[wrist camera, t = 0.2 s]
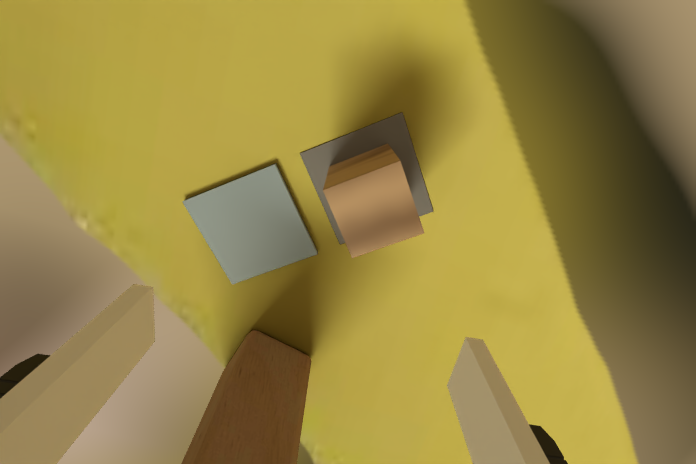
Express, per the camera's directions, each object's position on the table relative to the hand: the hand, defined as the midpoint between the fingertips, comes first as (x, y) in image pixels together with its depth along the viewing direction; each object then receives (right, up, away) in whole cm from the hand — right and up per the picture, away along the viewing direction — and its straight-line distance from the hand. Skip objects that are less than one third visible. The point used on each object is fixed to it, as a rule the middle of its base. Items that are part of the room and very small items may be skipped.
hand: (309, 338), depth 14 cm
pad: (-10, +5, +27) cm, 29 cm away
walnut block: (+4, +10, +25) cm, 27 cm away
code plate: (+4, +10, +25) cm, 27 cm away
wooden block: (-10, -15, +36) cm, 40 cm away
